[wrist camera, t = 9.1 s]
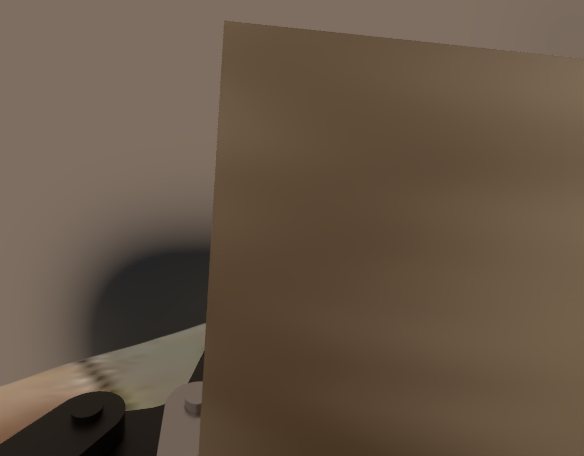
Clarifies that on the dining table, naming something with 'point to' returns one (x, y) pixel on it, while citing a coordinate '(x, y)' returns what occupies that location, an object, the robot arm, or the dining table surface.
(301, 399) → the wooden block
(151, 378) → the dining table surface
